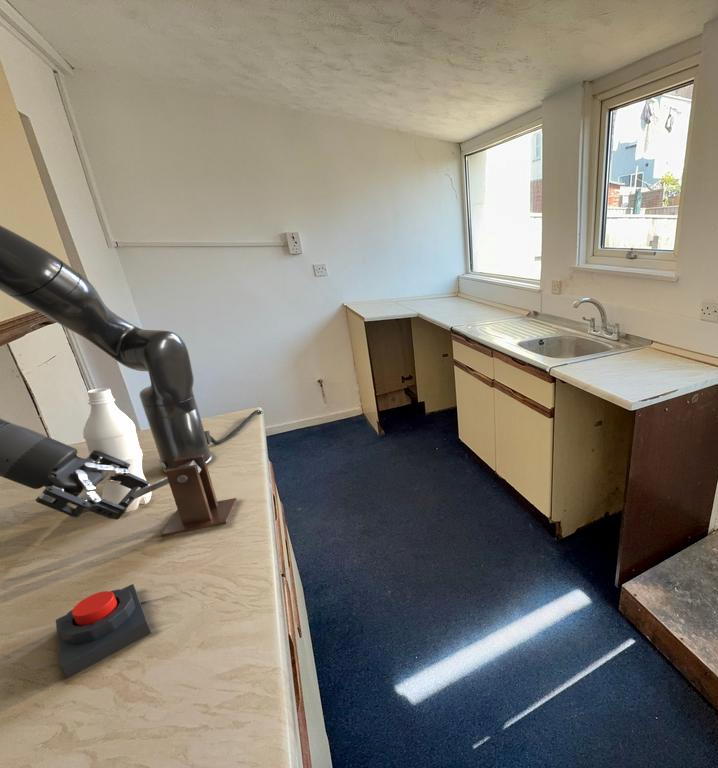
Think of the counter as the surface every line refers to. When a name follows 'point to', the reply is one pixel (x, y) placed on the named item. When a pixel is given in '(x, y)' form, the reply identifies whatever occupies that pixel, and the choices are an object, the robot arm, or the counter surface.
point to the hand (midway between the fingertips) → (134, 500)
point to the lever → (148, 488)
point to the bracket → (195, 498)
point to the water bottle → (114, 443)
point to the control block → (101, 633)
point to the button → (94, 608)
